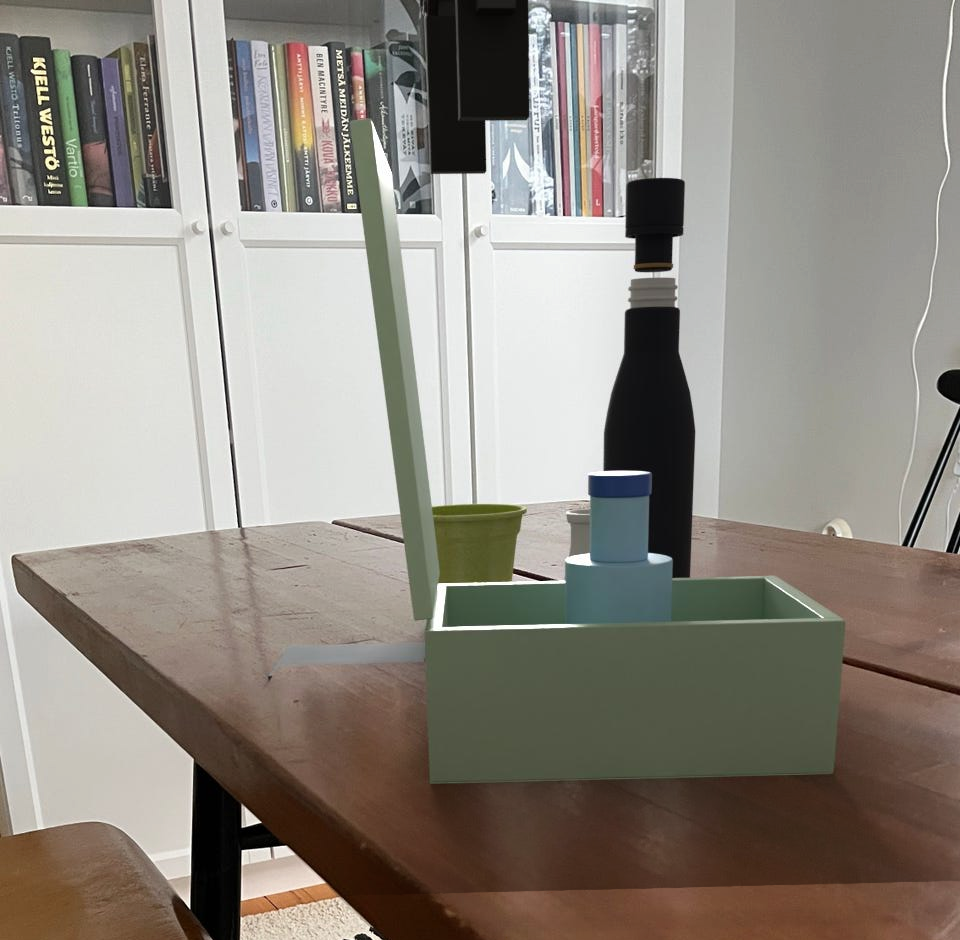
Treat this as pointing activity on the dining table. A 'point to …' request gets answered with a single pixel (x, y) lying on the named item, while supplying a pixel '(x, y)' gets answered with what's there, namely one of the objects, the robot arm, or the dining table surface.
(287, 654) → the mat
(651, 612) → the water bottle
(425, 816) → the dining table surface
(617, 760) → the cool chest
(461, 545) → the plant pot
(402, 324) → the lid
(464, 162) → the robot arm
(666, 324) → the black bottle
